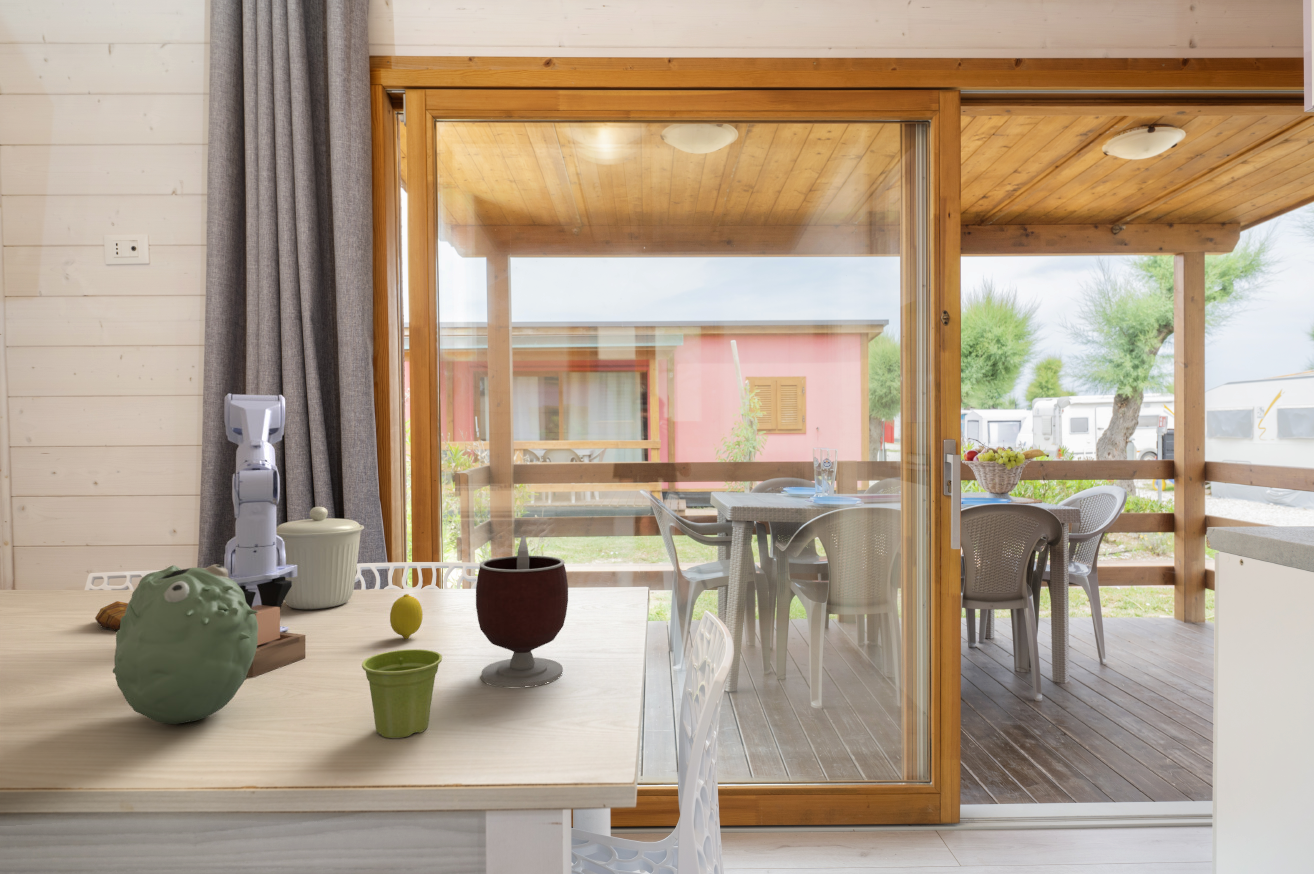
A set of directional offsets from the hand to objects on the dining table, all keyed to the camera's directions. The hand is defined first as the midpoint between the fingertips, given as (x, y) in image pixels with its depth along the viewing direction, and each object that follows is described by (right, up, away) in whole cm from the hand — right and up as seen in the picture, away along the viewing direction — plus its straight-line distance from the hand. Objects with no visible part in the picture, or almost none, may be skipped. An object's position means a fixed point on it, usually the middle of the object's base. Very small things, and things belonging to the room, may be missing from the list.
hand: (256, 629), depth 116 cm
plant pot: (+32, -6, -25) cm, 41 cm away
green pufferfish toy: (+4, -6, -23) cm, 24 cm away
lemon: (+19, -6, +14) cm, 25 cm away
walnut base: (0, -5, 0) cm, 5 cm away
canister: (-9, -6, +40) cm, 42 cm away
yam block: (0, -2, 0) cm, 2 cm away
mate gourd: (+43, -6, -4) cm, 44 cm away
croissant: (-39, -6, +22) cm, 45 cm away
